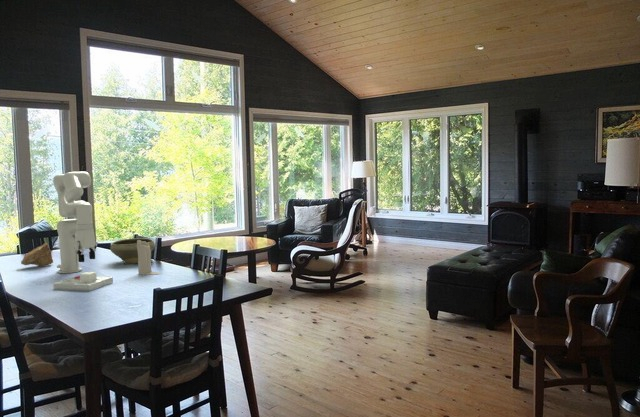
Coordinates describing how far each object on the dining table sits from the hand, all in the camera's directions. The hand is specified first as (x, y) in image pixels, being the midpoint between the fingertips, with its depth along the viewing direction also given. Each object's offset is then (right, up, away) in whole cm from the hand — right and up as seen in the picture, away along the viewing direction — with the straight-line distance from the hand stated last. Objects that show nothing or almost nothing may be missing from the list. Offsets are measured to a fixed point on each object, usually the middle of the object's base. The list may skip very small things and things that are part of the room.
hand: (87, 260), depth 263 cm
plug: (0, -14, +1) cm, 14 cm away
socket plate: (-3, -14, +2) cm, 14 cm away
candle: (+23, -11, +29) cm, 39 cm away
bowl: (0, -8, +68) cm, 68 cm away
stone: (-58, -10, +57) cm, 82 cm away
